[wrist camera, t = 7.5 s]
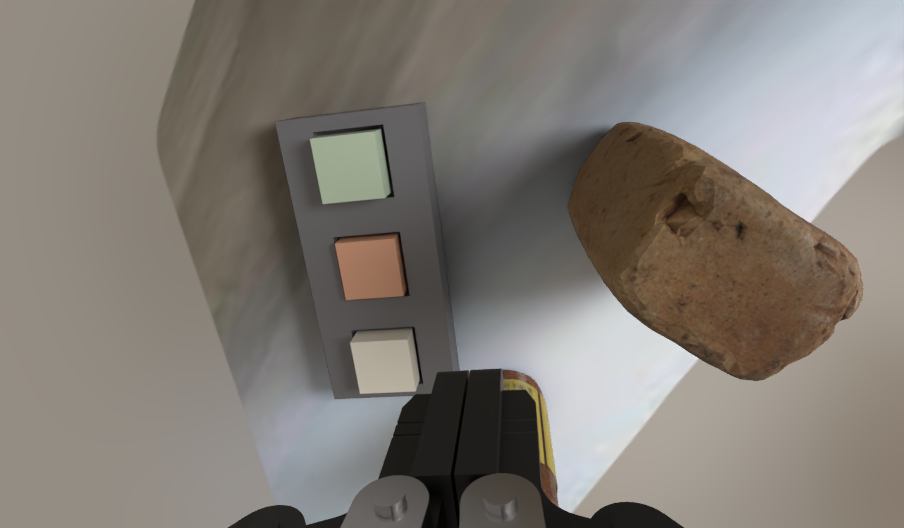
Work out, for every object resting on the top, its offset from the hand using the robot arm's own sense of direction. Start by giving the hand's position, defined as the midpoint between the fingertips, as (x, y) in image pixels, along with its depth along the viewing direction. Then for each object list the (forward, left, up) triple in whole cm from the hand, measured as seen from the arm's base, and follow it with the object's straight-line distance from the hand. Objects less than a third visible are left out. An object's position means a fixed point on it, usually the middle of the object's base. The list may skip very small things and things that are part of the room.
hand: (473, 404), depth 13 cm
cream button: (+12, -10, -26) cm, 31 cm away
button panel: (+5, -10, -29) cm, 31 cm away
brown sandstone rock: (+2, +10, -29) cm, 31 cm away
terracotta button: (+5, -10, -27) cm, 29 cm away
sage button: (-2, -10, -27) cm, 28 cm away
